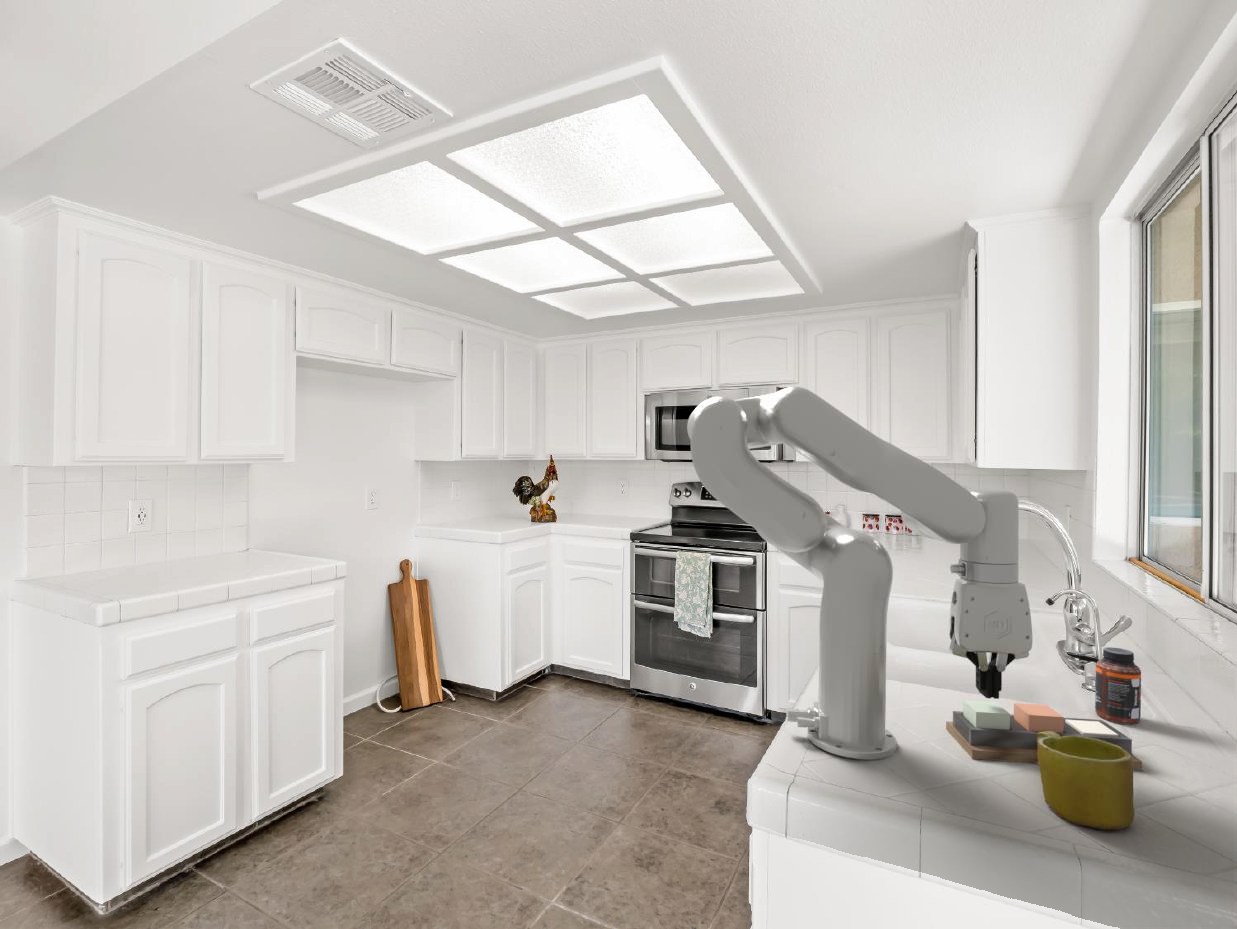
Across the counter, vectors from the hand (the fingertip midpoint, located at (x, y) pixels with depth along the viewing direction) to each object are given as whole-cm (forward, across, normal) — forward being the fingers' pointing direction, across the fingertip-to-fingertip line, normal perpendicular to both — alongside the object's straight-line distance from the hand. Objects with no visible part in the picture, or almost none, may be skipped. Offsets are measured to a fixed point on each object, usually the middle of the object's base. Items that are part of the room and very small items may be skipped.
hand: (988, 695), depth 95 cm
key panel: (+8, +7, 0) cm, 10 cm away
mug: (+8, +3, -16) cm, 18 cm away
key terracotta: (+4, +7, 0) cm, 8 cm away
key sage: (+4, 0, 0) cm, 4 cm away
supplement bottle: (+8, +26, +14) cm, 30 cm away
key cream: (+6, +14, 0) cm, 15 cm away
